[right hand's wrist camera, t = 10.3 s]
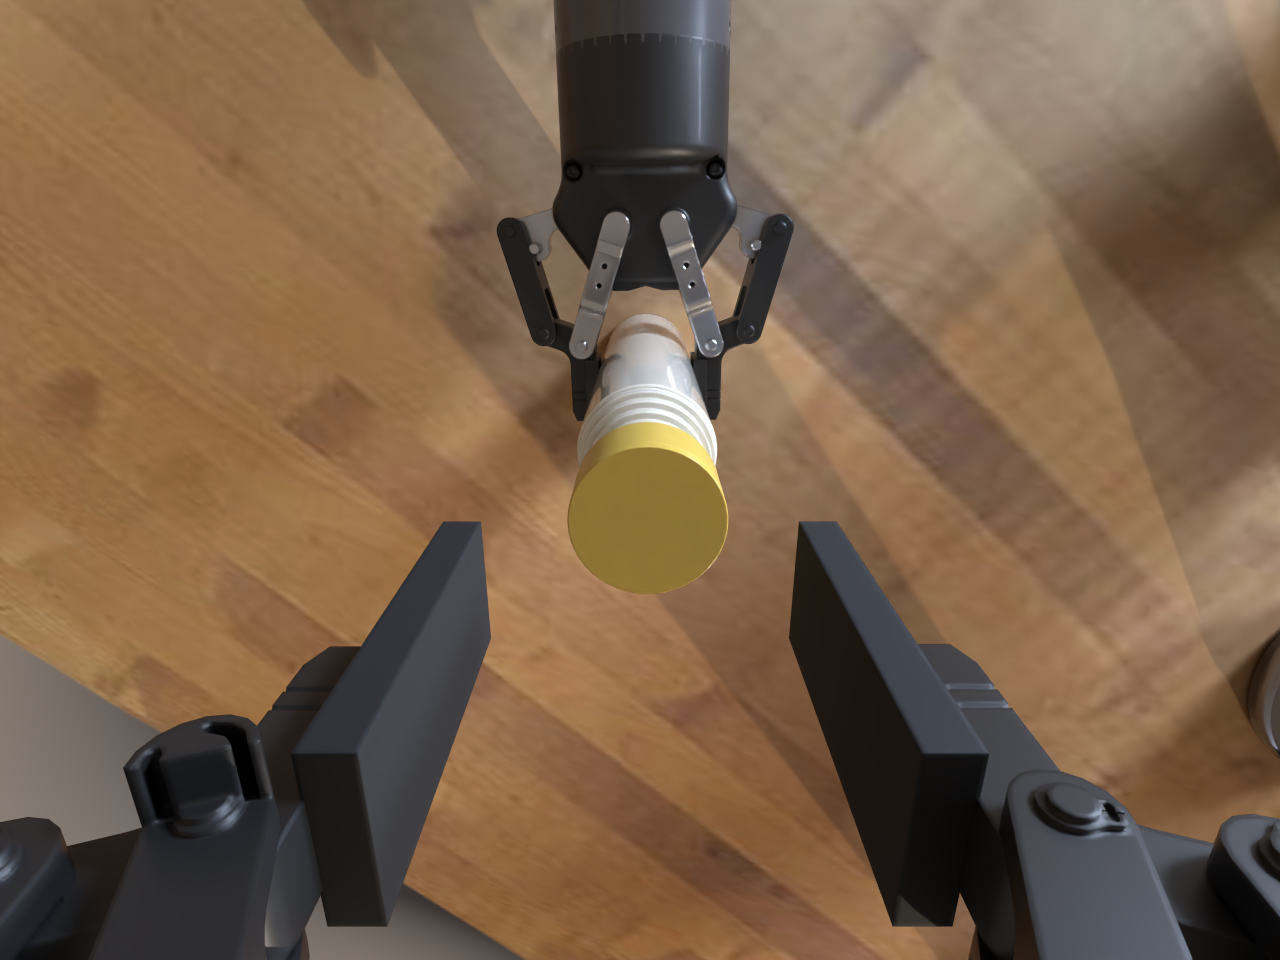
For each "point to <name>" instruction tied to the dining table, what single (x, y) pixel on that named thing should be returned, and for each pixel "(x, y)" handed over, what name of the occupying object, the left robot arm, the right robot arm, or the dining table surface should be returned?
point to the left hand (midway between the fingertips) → (647, 426)
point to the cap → (647, 509)
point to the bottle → (646, 385)
